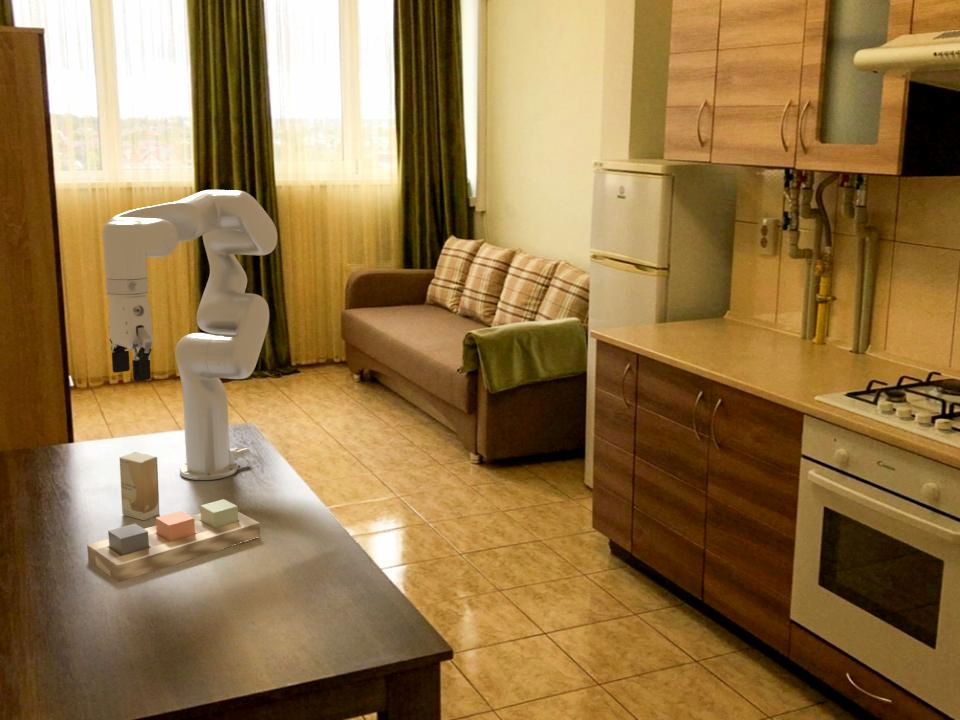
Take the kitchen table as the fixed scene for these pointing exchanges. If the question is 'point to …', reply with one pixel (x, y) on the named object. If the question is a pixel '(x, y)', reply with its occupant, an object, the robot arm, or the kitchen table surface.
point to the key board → (171, 548)
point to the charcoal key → (128, 539)
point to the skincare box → (139, 485)
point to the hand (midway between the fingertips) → (131, 375)
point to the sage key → (219, 513)
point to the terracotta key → (175, 526)
